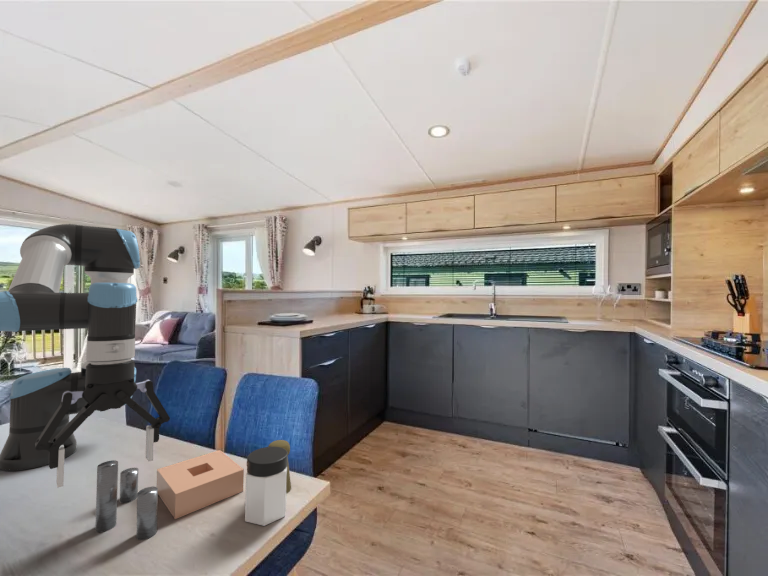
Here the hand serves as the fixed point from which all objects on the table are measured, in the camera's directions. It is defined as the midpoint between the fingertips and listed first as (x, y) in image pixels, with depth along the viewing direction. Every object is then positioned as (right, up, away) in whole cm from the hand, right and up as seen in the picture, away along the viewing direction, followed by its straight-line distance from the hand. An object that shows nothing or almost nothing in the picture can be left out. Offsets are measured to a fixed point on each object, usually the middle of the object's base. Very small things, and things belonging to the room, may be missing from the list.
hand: (107, 470), depth 67 cm
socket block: (+11, -11, +12) cm, 20 cm away
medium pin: (+9, -11, -2) cm, 14 cm away
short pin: (-3, -11, +9) cm, 15 cm away
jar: (+29, -12, +5) cm, 32 cm away
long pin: (0, -11, 0) cm, 11 cm away
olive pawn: (+29, -12, +14) cm, 34 cm away
